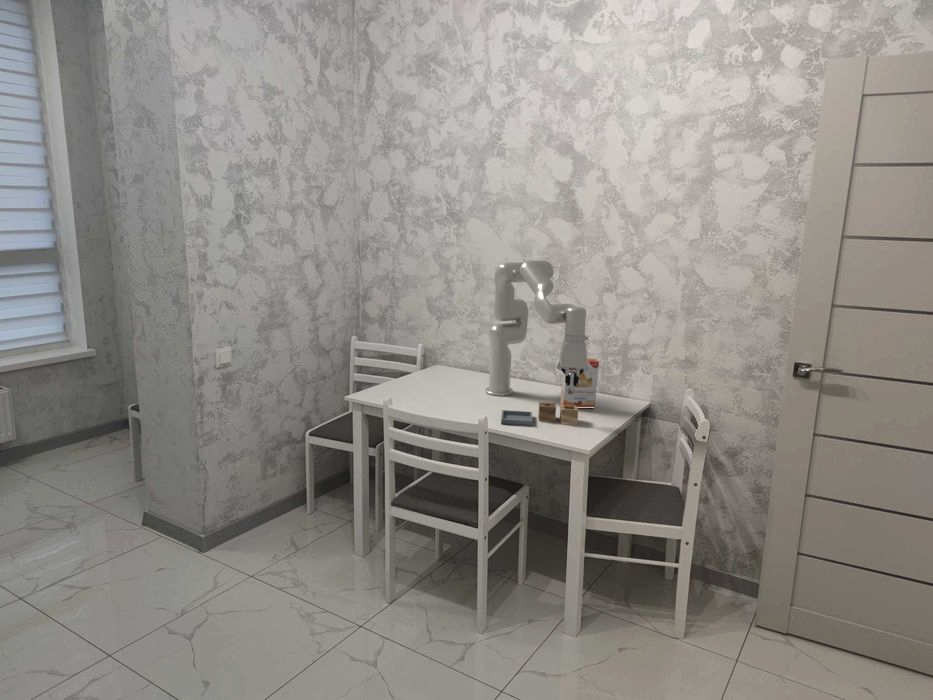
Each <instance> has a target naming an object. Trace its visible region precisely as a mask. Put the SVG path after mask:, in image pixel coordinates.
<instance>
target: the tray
mask: <svg viewBox="0 0 933 700" xmlns="http://www.w3.org/2000/svg"><path fill="white" fill-rule="evenodd" d="M500 420H501V421H500V425H507V426H509V425H510V426H523V427H524V426H526V427H533V412H532V411H524V410H523V411H522V410H509V409H508V410H507V409H502V410H501V418H500Z"/></svg>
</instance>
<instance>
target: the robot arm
mask: <svg viewBox="0 0 933 700" xmlns="http://www.w3.org/2000/svg"><path fill="white" fill-rule="evenodd" d="M554 272H555V271H554V266H553V265H552V263H551V262H550V261H548V260H544V259H542V260H527V261H525V262H524V261H523V262H517V261H516V262H515V261H514V262H512V261H511V262H503V263H501V264H499V265H497V267H496V269H495V271H494V279H493V280H494V287H495V290H494V291H495V293H494V294H495V295H494V308H493V316H494V318H495V320H497V321H500V322H505V323H497V324H494V325H493V326H491V327H490V329H489V331H488V338H489V346H490V351H489V355H490V356H489V377H488V378H489V380H488V387H486V388H485V390H484V391H485V393H486V394H488V395H492V396H499V397H503V396H505V395H506V396H510V394H511V395H513V393H514V390H513V388H510V387H511V372H512V371H511V370H512V352H511V350H510V348H509V346H508V345H515V344H521V343H523V342H524V341H525V340H526V337H527V331H528V323H529V320H528V319H529V308H528V304H527V303H526V300H524V299H520V298H515V286H514V285H513V283H526V284H527V285H528V287H529V288H530V289H531V291H532V292H533V294H534V307H535V311H536V313H537V314H538V315H539V317H540V318H541V319H542V320H543V321H544V322H546V323H547V324H548V325H556V324H565V327H564V340H562V342H561V346H560V352H559V361H558V363H557V364H556V369H557V370H559V371H561V372H562V374H563V373H564V374H565V383H567V386H569V378H570V376H569V368H576V373H575V383H574V386H576V384H578V378H579V376H580V374H582V373H583V372H585V371H587V370H589V368H588V365H587V363H586V361H587V359H588V358H587V353H588V352H587V343H586V341H589V336H586V334H585V333H586V322H587V310H586V308H585V307H582V306H576V305H574V304H572V303H555V304H551V303H550V302H549V300H548V299H547V297H548V296H549V295H550V294H552V292H553V291H554V287H555V286H554V282H553V281H552V280H551V279H553V276H554ZM508 321H509V322H508ZM510 321H512V322H510ZM506 322H508V323H506ZM564 368H565V369H564ZM506 396H505V397H506Z"/></svg>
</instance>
